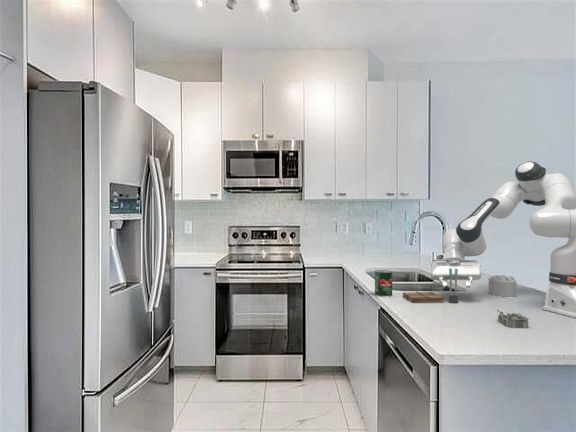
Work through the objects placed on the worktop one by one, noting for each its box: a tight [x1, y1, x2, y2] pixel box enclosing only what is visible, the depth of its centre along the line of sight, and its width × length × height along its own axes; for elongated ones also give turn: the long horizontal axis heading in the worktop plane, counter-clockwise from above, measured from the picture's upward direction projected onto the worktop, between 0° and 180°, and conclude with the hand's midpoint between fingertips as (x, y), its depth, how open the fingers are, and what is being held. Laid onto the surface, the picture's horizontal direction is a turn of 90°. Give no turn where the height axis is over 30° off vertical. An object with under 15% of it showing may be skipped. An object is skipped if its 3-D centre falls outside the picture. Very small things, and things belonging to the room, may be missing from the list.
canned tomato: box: [374, 269, 393, 297], centre depth 202 cm, size 8×8×11 cm
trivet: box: [402, 291, 444, 304], centre depth 191 cm, size 13×13×2 cm
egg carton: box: [496, 309, 530, 329], centre depth 150 cm, size 11×8×4 cm
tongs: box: [448, 268, 459, 304], centre depth 186 cm, size 3×4×14 cm
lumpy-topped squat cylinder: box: [488, 274, 517, 298], centre depth 203 cm, size 10×13×9 cm
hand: (456, 286), depth 186 cm, fingers open, 8 cm apart
